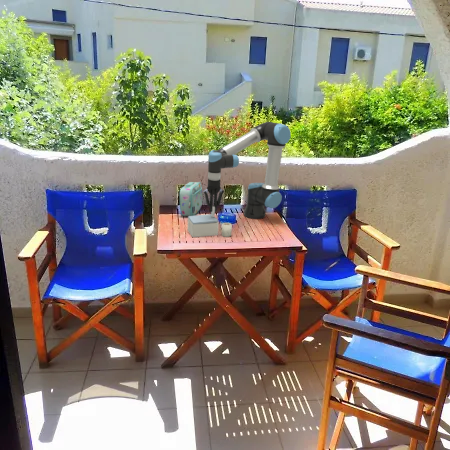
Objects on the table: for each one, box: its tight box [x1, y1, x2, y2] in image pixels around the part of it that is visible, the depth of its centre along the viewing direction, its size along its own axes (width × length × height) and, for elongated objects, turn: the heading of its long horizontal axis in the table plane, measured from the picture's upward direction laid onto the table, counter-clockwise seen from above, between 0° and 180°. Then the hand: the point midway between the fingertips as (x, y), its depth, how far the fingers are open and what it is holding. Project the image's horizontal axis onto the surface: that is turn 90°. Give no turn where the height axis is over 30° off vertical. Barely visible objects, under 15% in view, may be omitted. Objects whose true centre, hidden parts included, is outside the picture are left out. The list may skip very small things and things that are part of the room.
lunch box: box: [179, 181, 203, 217], centre depth 288 cm, size 27×10×21 cm, turn 168°
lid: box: [187, 213, 219, 224], centre depth 254 cm, size 16×12×1 cm
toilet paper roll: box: [220, 222, 233, 238], centre depth 254 cm, size 6×6×7 cm
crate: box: [186, 217, 220, 238], centre depth 256 cm, size 16×12×8 cm
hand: (212, 216), depth 256 cm, fingers closed
